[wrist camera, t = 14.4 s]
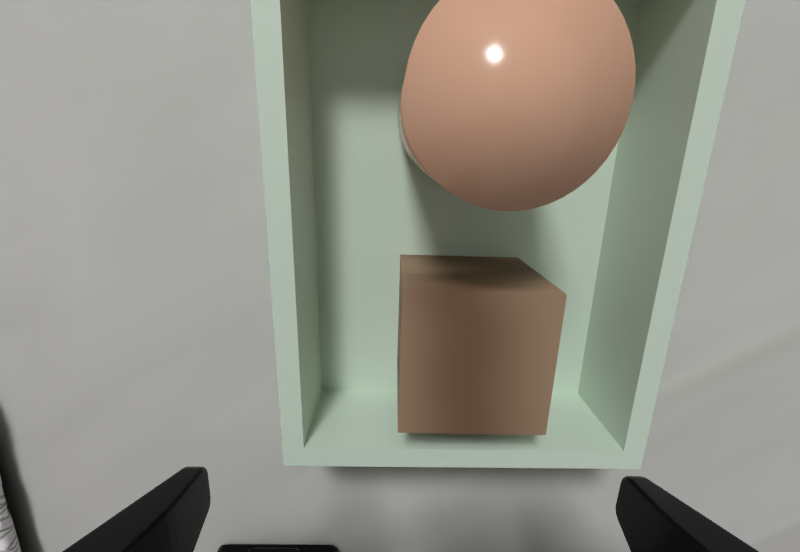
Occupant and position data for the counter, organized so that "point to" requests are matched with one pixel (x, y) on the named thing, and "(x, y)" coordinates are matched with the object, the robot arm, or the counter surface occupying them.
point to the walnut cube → (476, 345)
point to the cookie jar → (7, 525)
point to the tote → (471, 234)
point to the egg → (516, 97)
